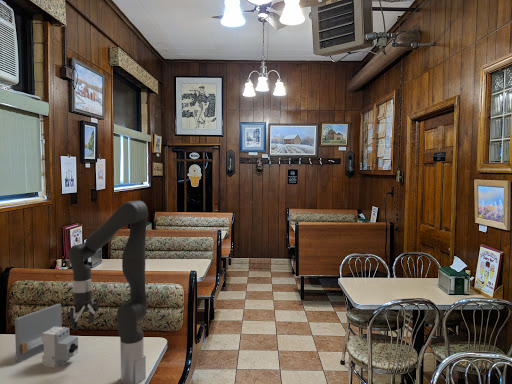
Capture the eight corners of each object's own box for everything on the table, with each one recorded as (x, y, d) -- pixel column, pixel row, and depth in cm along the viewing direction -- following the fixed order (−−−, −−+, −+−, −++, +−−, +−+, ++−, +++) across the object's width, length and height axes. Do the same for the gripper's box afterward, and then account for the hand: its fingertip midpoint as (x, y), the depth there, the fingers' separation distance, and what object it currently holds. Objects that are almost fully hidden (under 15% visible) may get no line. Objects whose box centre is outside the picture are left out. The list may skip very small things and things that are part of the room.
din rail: (62, 335, 187) (62, 328, 187) (23, 353, 169) (23, 344, 169) (60, 335, 188) (59, 327, 188) (20, 352, 170) (20, 343, 169)
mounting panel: (62, 342, 189) (61, 304, 188) (18, 362, 169) (17, 319, 168) (59, 341, 190) (58, 303, 189) (16, 361, 170) (14, 318, 169)
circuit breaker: (70, 369, 163) (69, 336, 163) (42, 365, 166) (41, 333, 165) (81, 360, 171) (81, 329, 170) (54, 357, 174) (54, 326, 173)
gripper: (74, 295, 153) (75, 334, 154) (101, 286, 166) (102, 321, 166) (61, 293, 156) (63, 330, 157) (90, 283, 169) (90, 318, 170)
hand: (83, 326), depth 162 cm, fingers open, 8 cm apart
